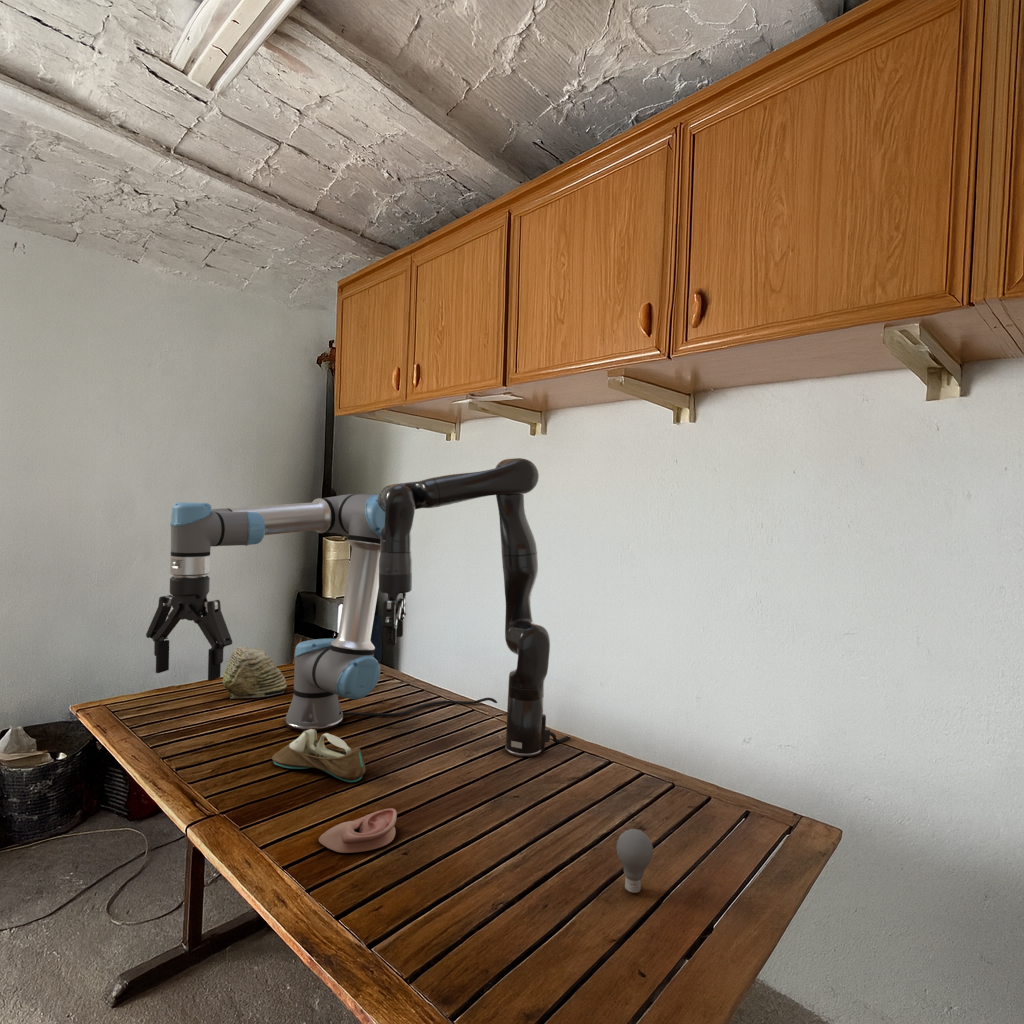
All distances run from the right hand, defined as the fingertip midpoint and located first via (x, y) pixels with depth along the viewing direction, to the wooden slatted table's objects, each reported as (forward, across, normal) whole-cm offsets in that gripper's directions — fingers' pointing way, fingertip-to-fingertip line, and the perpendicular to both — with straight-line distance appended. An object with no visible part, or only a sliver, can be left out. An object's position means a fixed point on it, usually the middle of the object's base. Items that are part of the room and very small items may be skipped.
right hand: (394, 640), depth 147 cm
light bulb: (+31, -42, -48) cm, 71 cm away
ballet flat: (+30, -2, +17) cm, 35 cm away
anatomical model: (+30, -29, +1) cm, 42 cm away
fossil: (+30, +50, +54) cm, 79 cm away
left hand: (+5, -13, +41) cm, 44 cm away
